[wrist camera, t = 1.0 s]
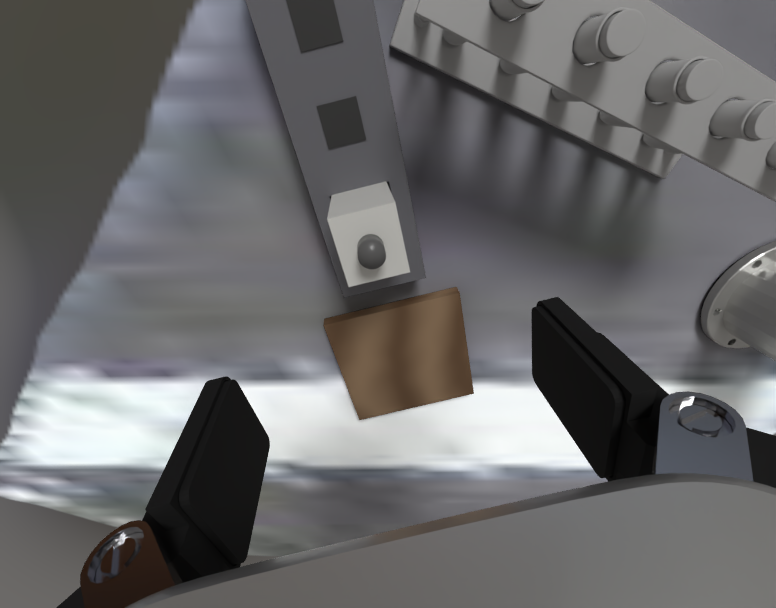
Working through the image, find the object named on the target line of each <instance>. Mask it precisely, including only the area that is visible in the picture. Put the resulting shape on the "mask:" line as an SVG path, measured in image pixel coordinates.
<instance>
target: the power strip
mask: <svg viewBox="0 0 776 608" xmlns="http://www.w3.org/2000/svg"><path fill="white" fill-rule="evenodd" d="M246 3H247V6H248V9H249V12H250V16H251V19H252V22H253V25H254V28H255V31H256V34H257V37H258V40H259V43H260V46H261V49H262V52H263V55H264V58H265V61H266V64H267V67H268V70H269V73H270V76H271V79H272V82H273V85H274V88H275V91H276V94H277V97H278V100H279V103H280V106H281V109H282V112H283V115H284V118H285V122H286V125H287V128H288V131H289V134H290V137H291V140H292V143H293V146H294V149H295V152H296V155H297V158H298V161H299V164H300V167H301V170H302V173H303V176H304V179H305V182H306V185H307V188H308V191H309V194H310V197H311V200H312V203H313V206H314V209H315V212H316V215H317V218H318V221H319V224H320V227H321V231H322V234H323V237H324V240H325V243H326V246H327V249H328V252H329V255H330V258H331V261H332V264H333V267H334V270H335V273H336V276H337V279H338V282H339V285H340V288H341V291H342V294H343V297H344V298H346V297H350V296H354V295H358V294H362V293H366V292H370V291H374V290H378V289H382V288H387V287H391V286H395V285H399V284H403V283H407V282H411V281H415V280H419V279H424V278H426V275H425V270H424V264H423V259H422V254H421V249H420V243H419V238H418V233H417V228H416V222H415V217H414V212H413V207H412V201H411V196H410V191H409V186H408V180H407V175H406V170H405V165H404V159H403V154H402V149H401V144H400V138H399V133H398V128H397V123H396V117H395V112H394V107H393V102H392V96H391V91H390V86H389V81H388V75H387V70H386V65H385V60H384V54H383V49H382V44H381V39H380V33H379V28H378V23H377V18H376V12H375V7H374V2H373V0H246ZM385 181H386V182H387V184H388V187H389V189H390V191H391V193H392V196H393V198H394V200H395V203H396V208H397V212H398V217H399V222H400V227H401V231H402V236H403V241H404V245H405V250H406V255H407V259H408V264H409V269H410V272H409V273H405V274H401V275H397V276H392V277H388V278H384V279H380V280H376V281H372V282H368V283H364V284H360V285H356V286H352V287H348V284H347V280H346V277H345V274H344V271H343V268H342V265H341V261H340V258H339V255H338V252H337V249H336V246H335V242H334V239H333V236H332V233H331V230H330V227H329V224H328V220H327V217H328V212H329V207H330V202H331V196H332V195H334V194H338V193H342V192H346V191H350V190H354V189H358V188H362V187H366V186H370V185H374V184H377V183H381V182H385Z"/></svg>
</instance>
